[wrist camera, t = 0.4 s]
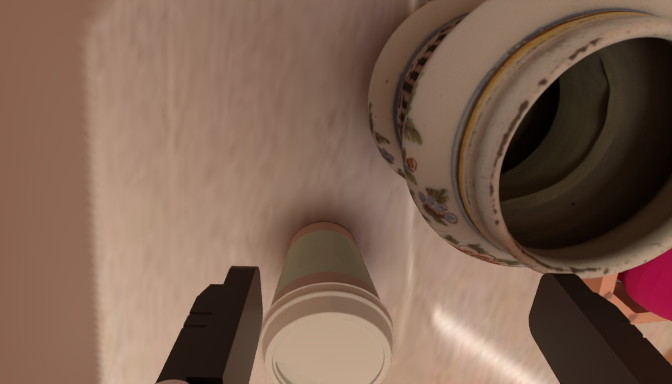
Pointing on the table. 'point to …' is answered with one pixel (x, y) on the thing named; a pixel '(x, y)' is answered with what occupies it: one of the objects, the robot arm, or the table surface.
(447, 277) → the table surface
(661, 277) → the pepper mill
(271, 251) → the table surface
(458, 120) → the apothecary jar
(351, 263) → the coffee cup
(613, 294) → the holder ring
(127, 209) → the table surface
